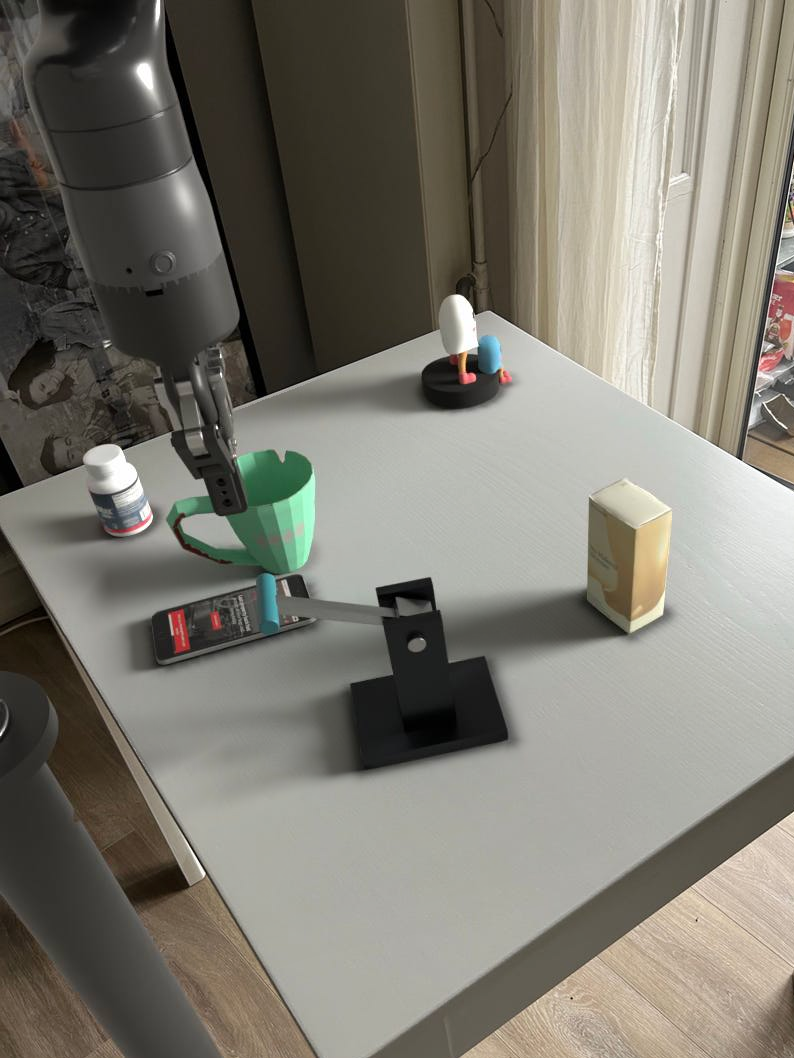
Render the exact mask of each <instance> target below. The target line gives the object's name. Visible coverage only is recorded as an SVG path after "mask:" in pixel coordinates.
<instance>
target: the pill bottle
mask: <svg viewBox="0 0 794 1058" xmlns="http://www.w3.org/2000/svg"><path fill="white" fill-rule="evenodd" d="M82 462H83V465H84V468H85V471H86V472H87V475H86V477H85V485H86V488H87V490H88V493H89V495H90V498H91V500H92V502H93V504H94V508H95V509H96V512H97V514H98V516H99V519H100V521H101V523H102V526H103V529H104V530H105V531H106V533H107V534H108V535H111V536H114V537H123V538H124V537H130V536H133V535H136V534H139V533H141V532H143V531H144V530H146V529H147V528H148V527H149V526H150V525H151V523H152V521H153V518H154V517H153V516H154V515H153V512H152V509H151V507H150V504H149V501H148V499H147V496H146V493H145V491H144V489H143V485H142V483H141V479H140V477H139V475H138V472H137V470H136V468H135V467H134V466H133V464H131V463H129V462H127V461H126V456H125V454H124V452H123V450H122V448H121V447H120V446H119V445H118V444H117V445H116V444H112V443H105V444H101V445H97V446H95V447H93V448H90V449H89V450H88V451H86V452H85V453H84V454H83V457H82Z"/></svg>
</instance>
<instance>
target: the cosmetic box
mask: <svg viewBox="0 0 794 1058" xmlns="http://www.w3.org/2000/svg"><path fill="white" fill-rule="evenodd" d="M672 519H673V508H672V507H671V506H669V505H667V504H665V503H664V502H663V501H661V500H660V499H658V498H657V497H655V496H654V495H653V494H651V493H650V492H649V491H647V490H645V489H643V488H641V487H640V486H639V485H637V484H636V483H635V482H633V481H631V480H630V479H629V478H627V477H622V478H620V479H619V480H616V481H614V482H611V483H610V484H609V485H607V486H604V487H602V488H600V489H598V490H596V491H595V492H593V493H591V494H589V495H588V522H587V523H588V524H587V525H588V527H587V573H586V574H587V575H586V578H587V579H586V601H588V602H589V603H590V604H591V605H592V606H593V607H595V608H596V609H597V610H598V611H599V612H600V613H602V614H603V615H604V616H605V617H606V618H608V620H610V621H611V622H613V623H614V624H615V625H617V626H618V627H619V628H620V629H622V630H623V631H624V632H626V634H632V633H634V632H635V631H637V630H639V629H642V628H643V627H645V626H646V625H648V624H650V623H652V622H653V621H655V620H657V619H658V618H660V617H662V616H663V615H664V606H665V594H666V585H667V574H668V563H669V554H670V553H669V552H670V542H671V541H670V540H671V532H672V522H673V521H672Z"/></svg>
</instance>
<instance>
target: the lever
mask: <svg viewBox="0 0 794 1058" xmlns="http://www.w3.org/2000/svg"><path fill="white" fill-rule="evenodd" d="M275 579H276V578H275V576H274V575H273V574H272V573H269V572H268V573H267V572H264V573H260V574H259V575H258V576H257V577H256V579H255V585H256V592H257V608H258V623H259V630H260V632H261V633H263V634H265V635H269V636H273V635H275V633H276V634H278V633H277V632H278V630H279V616H278V615H288V616H297V617H306V618H315V619H316V620H325V621H333V622H343V623H344V622H345V623H353V624H354V623H355V624H362V625H370V626H371V625H372V626H380V627H381V626H382V627H383V623H382V621H385V620H390V619H395V618H400V617H405V616H410V615H415V614H420V613H425V612H430V611H432V607H431V603H430V601H426V600H417V599H409V598H401V597H396V598H395V600H394V603H393V607H392V608H386V607H379V606H377V605H367V604H359V603H351V602H342V601H333V600H325V599H315V598H310V599H308V598H299V597H290V596H282V595H277V593H276V581H275Z"/></svg>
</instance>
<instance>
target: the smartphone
mask: <svg viewBox="0 0 794 1058" xmlns="http://www.w3.org/2000/svg"><path fill="white" fill-rule="evenodd" d="M275 581H276V593H277V595H282V596H290V597H299V598H308V599H311V596H310V593H309V590H308V587H307V583H306V580H305V579H304V576H303V575H302V574H299V573H293V574H291V575H287V576H283V577H279V578H275ZM278 616H279V630H278V632H277V633H275V634H279V633H283V632H286V631H289V630H293V629H294V630H295V629H297V628H300V627H305V626H309V625H311V624H312V623H314V622H315V621H316V620H317V619H315V618H306V617H297V616H288V615H278ZM150 627H151V632H152V640H153V646H154V647H153V648H154V653H155V659H156V661H157V663H158V664H159V665H164V666H165V665H169V664H170V665H171V664H174V663H177V662H180V661H185V660H187V659H191V658H195V657H198V656H201V655H205V654H208V653H212V652H216V651H219V650H223V649H226V648H230V647H234V646H237V645H240V644H243V643H247V642H251V641H254V640H257V639H262V638H265V637H269V636H270V635H265V634H263V633H261V632H260V630H259V623H258V608H257V592H256V584H253V585H250V586H247V587H243V588H239V589H235V590H232V591H228V592H225V593H221V594H218V595H214V596H210V597H206V598H203V599H198V600H194V601H191V602H187V603H185V604H181V605H177V606H173V607H170V608H166V609H162V610H159V611H158V610H157V611H156V612H154V613H153V614H151V616H150ZM275 634H274V635H275Z"/></svg>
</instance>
